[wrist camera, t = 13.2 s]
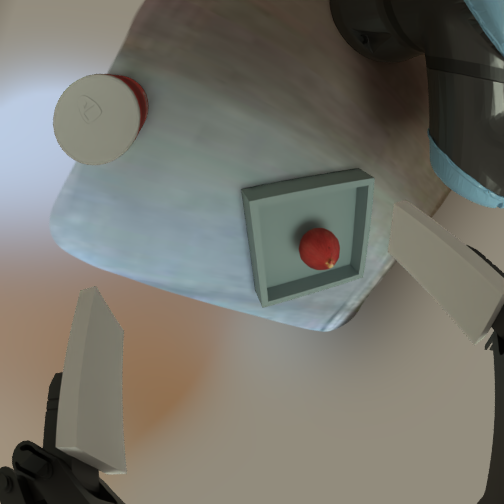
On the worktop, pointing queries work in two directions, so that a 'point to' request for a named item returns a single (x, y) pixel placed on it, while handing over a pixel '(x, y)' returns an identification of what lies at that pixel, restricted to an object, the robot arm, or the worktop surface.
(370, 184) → the bin
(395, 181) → the worktop surface
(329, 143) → the worktop surface
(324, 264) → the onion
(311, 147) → the worktop surface
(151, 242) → the worktop surface
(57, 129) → the canned food
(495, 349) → the robot arm
